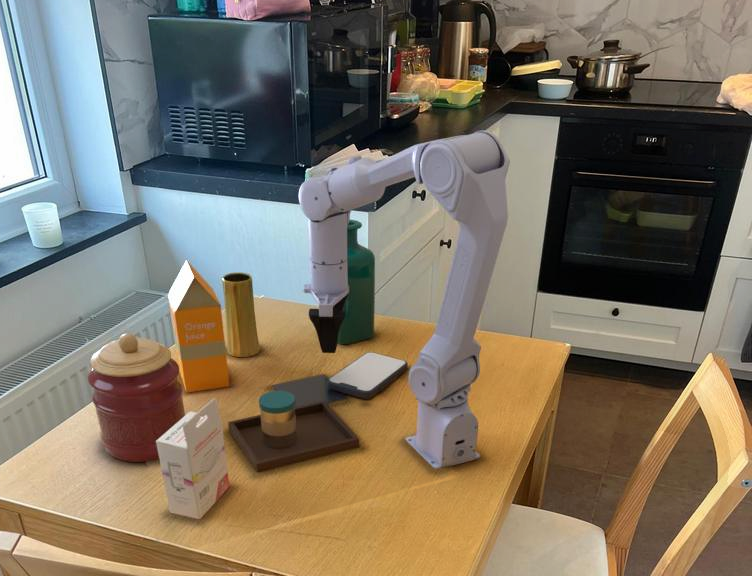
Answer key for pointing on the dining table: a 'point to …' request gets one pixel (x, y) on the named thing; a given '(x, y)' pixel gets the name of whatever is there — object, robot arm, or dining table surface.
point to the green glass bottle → (358, 290)
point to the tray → (314, 437)
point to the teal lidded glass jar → (278, 419)
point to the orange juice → (198, 332)
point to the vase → (240, 315)
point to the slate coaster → (310, 390)
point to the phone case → (367, 375)
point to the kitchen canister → (135, 396)
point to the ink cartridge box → (194, 462)
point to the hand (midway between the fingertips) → (330, 342)
